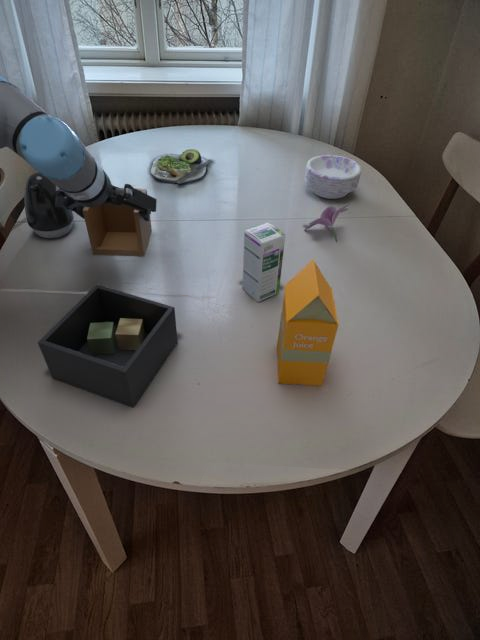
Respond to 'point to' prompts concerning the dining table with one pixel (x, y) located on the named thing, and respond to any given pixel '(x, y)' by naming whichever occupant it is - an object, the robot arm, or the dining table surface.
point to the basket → (124, 365)
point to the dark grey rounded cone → (45, 208)
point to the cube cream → (130, 334)
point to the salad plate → (180, 167)
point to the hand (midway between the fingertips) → (116, 213)
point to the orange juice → (306, 328)
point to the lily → (328, 217)
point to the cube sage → (102, 338)
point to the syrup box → (262, 261)
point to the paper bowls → (332, 176)
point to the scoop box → (117, 230)
